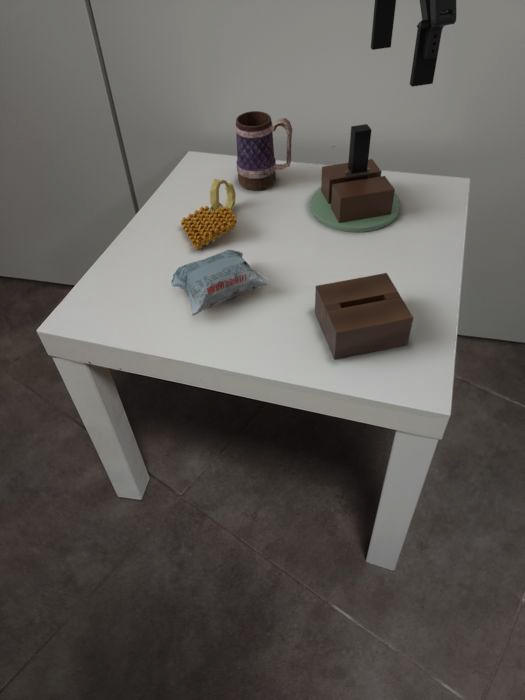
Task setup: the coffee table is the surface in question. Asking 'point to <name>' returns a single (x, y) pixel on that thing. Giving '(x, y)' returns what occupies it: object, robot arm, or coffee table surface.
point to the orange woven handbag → (211, 217)
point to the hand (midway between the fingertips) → (399, 65)
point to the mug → (258, 149)
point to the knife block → (362, 315)
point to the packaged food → (217, 279)
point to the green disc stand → (354, 200)
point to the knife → (358, 153)
